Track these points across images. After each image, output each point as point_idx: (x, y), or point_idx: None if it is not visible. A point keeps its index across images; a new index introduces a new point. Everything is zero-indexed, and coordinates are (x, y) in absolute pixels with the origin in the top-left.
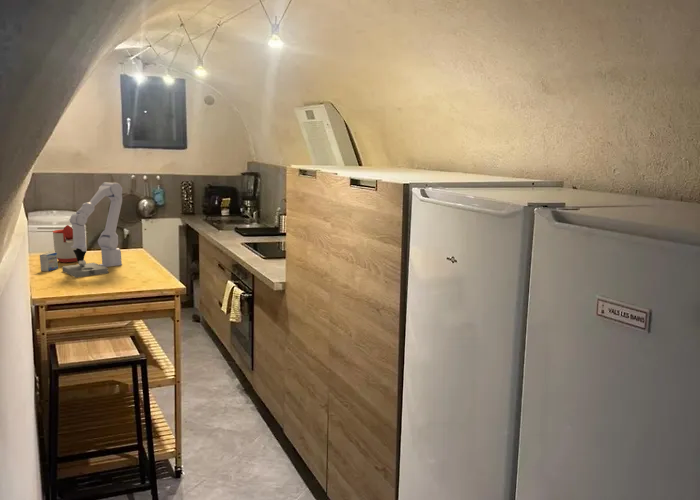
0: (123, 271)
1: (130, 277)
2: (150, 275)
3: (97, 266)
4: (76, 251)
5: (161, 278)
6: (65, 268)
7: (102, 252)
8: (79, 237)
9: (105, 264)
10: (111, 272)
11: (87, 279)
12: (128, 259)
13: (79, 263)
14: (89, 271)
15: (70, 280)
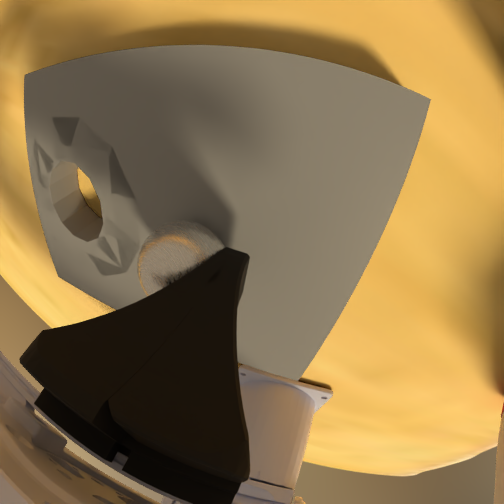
0: (91, 311)
1: (11, 244)
2: (27, 289)
3: (123, 292)
4: (28, 348)
5: (4, 272)
6: (272, 51)
7: (251, 459)
8: None
9: (257, 386)
10: None
11: (10, 112)
12: (323, 448)
13: (164, 227)
14: (34, 170)
15: (27, 33)
